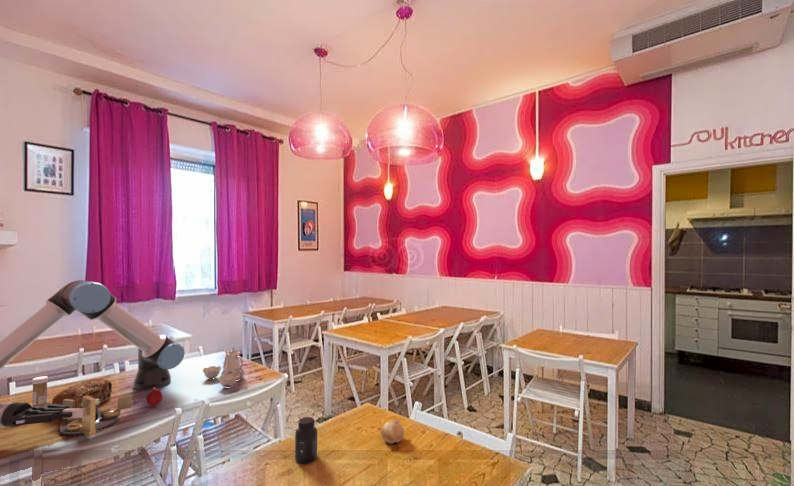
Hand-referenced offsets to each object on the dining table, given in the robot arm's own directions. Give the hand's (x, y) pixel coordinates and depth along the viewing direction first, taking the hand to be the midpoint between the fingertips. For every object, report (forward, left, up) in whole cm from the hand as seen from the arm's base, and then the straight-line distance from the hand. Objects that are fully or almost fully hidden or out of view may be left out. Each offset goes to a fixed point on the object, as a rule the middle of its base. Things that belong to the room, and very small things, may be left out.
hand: (84, 413), depth 130 cm
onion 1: (-20, -20, -10) cm, 30 cm away
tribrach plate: (-2, -14, -9) cm, 17 cm away
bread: (+5, -35, -10) cm, 36 cm away
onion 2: (-90, +55, -10) cm, 106 cm away
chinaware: (-50, -36, -10) cm, 63 cm away
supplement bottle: (-61, +50, -10) cm, 80 cm away
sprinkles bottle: (+19, -39, -10) cm, 44 cm away
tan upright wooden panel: (+1, -5, -8) cm, 9 cm away
